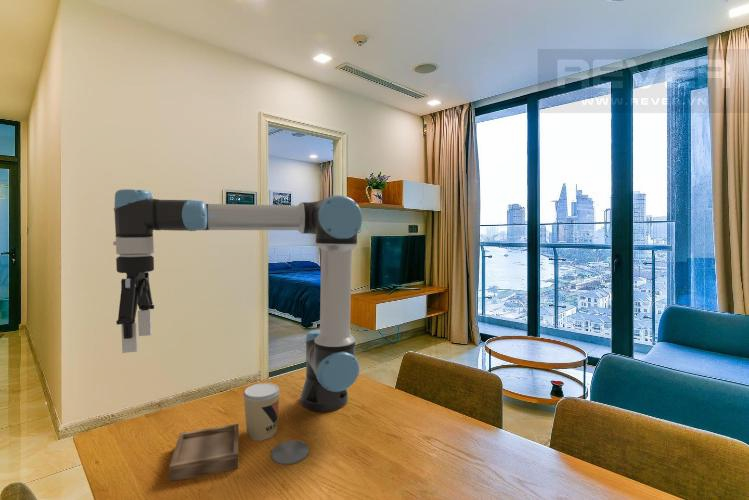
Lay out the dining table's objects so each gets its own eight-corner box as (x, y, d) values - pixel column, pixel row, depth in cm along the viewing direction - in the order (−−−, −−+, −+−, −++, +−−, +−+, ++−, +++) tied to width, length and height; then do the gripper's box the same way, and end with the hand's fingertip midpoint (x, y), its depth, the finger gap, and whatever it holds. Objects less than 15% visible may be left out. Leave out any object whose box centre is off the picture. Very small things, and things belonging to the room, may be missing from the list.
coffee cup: (269, 444, 95) (269, 398, 94) (236, 439, 97) (236, 395, 96) (285, 425, 104) (285, 383, 103) (255, 421, 106) (254, 381, 105)
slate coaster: (305, 440, 97) (305, 437, 97) (311, 460, 88) (311, 457, 88) (269, 446, 94) (269, 444, 94) (272, 468, 85) (272, 465, 85)
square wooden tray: (238, 436, 98) (238, 423, 98) (238, 468, 85) (237, 453, 85) (180, 446, 94) (179, 433, 93) (169, 482, 80) (169, 466, 80)
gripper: (131, 252, 98) (134, 330, 99) (97, 259, 75) (100, 362, 76) (163, 251, 101) (165, 328, 102) (139, 259, 77) (142, 358, 78)
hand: (138, 343), depth 89 cm, fingers open, 13 cm apart
